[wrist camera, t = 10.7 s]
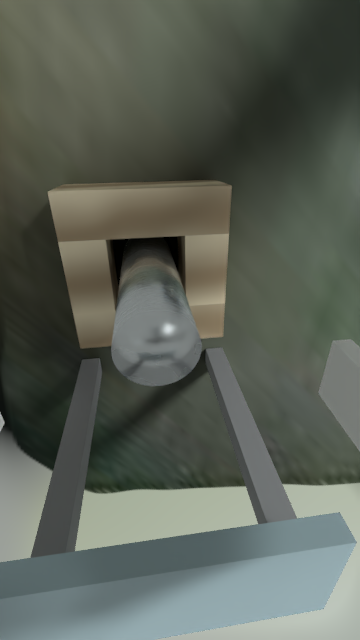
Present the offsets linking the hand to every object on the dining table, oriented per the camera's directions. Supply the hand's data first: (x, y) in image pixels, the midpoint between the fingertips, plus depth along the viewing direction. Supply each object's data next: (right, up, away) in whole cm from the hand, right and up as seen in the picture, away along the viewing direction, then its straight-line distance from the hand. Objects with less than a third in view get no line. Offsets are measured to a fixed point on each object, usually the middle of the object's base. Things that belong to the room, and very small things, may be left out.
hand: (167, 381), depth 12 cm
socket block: (-2, +8, +15) cm, 18 cm away
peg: (-2, +8, +15) cm, 18 cm away
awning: (-2, 0, +20) cm, 20 cm away
